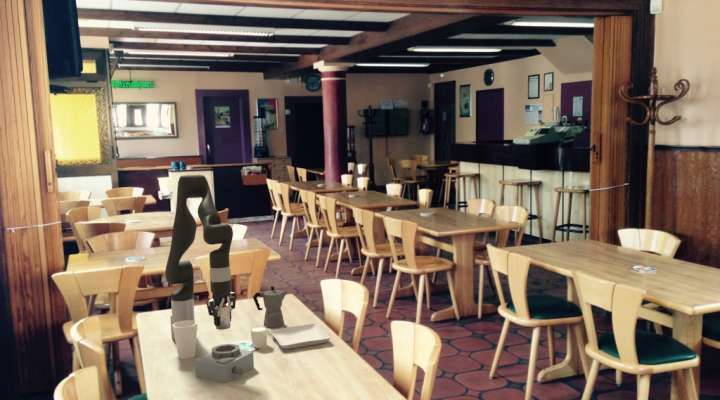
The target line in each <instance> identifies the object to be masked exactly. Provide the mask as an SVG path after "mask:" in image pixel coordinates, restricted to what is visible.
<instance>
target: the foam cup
mask: <svg viewBox="0 0 720 400" xmlns="http://www.w3.org/2000/svg"><path fill="white" fill-rule="evenodd" d="M173 332H174V336H175V345H176V346H175V347H176V350H177V351H176V352H177V355H178V358H179V359H185V360H186V359H187V360H188V359H191V358H193V357H195V356H196V347H197V336H198V335H197V334H198V322H197V321H196V320H195V321H192V320H186V321H179V322H176V323H174V324H173Z"/></svg>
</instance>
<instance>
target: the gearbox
mask: <svg viewBox="0 0 720 400" xmlns="http://www.w3.org/2000/svg"><path fill="white" fill-rule="evenodd" d="M254 360H255V359H254V351H250V350H246V349H240V345H239V344H235V343H222V344H218V345H216V346H214V347H212V348H211V352H209V353H207V354H205V355H202V356H200V357H199V358H198V357H197V358H196V359H194V371H195V373H194V374H195V377H197V378H202V379H207V380H211V381H216V382H221V383H223V384H224V383H225V384H226V383H228V382H229V381H231V380H233V379H235V378H236V377H238V376H242V374H244V373H246V372H248V371H250V370H252V369H254V368H255V364H254V363H255V361H254Z"/></svg>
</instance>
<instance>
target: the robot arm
mask: <svg viewBox="0 0 720 400" xmlns="http://www.w3.org/2000/svg"><path fill="white" fill-rule="evenodd" d="M176 191H177V192H176V208H175V215H174V219H173V225H172V233H171V234H172V235H171V243H170V249H169V254H168V256H167V257H168V258H167V261H166V265H165V273H164V274H165V275H164V276H165V281H166V282H167V284H169V285H173V286H174V285H179V284H181V285H180V286H179V287H177V288H176V289H175V290H173V291H172V292H171V293H170V301H171V302H170V304H171V306H170V307H171V316H170V317H169V318H170V333H171V339H173V340H175V336H174V332H173V324H174V323H176V322H179V321H186V320H192V321H196V319H195V302H194V300H195V299H194V290H195V287H194V286H195V285H194V278H195V277H194V272H195V271H194V267H193V264H192V262H191V261H190V260H182V261H181V259H182V257H183V256H184V254H185V253H186V252H187V251H188V250H189V249H190V247H191V246H192V244H193V243H194V242H195V239H196V234H197V228H198V227H197V222H196V220H195V218H194V216H193V214H192V213H191V211H190V209H189V207H188V205H187V202H188V199H199V198H201V201H200V203H199V205H198V208H197V214H198V215H197V216H198V218H199V220H200V222H201V224H202V232H203V233H202V236H203V237H202V238H203V241H204V242H205V243H206V244H207V245H212V246H213V245H220V246H219V248H217V249H215V250H212V251H210V252H209V257H208V258H209V286H210V293H211V294H212V296H211V299H209V300H205V301H206V308H207V311H208V312H207V313H208V316H210V317H211V316H212V317H213V324H214V326H215V327H216V326H220V311H221V310H222V306H223V304H224V303H227V305H229V309H230V323H231V322H232V311H233V309H236V301H237V292H232V289H233V288H232V272H231V265H230V253H231V252H230V251H231V246H232V242H233V237H234V230H233V228H232V226H231V225H230V224H228V223H222V219H221V218H222V217H221V215H220V214H219V212H218V210H217V208H216V206H215V203H214V199H213V195H212V191H211V188H210V185H209V181H208V179H207V177H206V176H205V175H203V174H182V175H180V176H179V179H178V181H177V190H176ZM216 306H218V308H217V307H216ZM216 310H217V313H216Z"/></svg>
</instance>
